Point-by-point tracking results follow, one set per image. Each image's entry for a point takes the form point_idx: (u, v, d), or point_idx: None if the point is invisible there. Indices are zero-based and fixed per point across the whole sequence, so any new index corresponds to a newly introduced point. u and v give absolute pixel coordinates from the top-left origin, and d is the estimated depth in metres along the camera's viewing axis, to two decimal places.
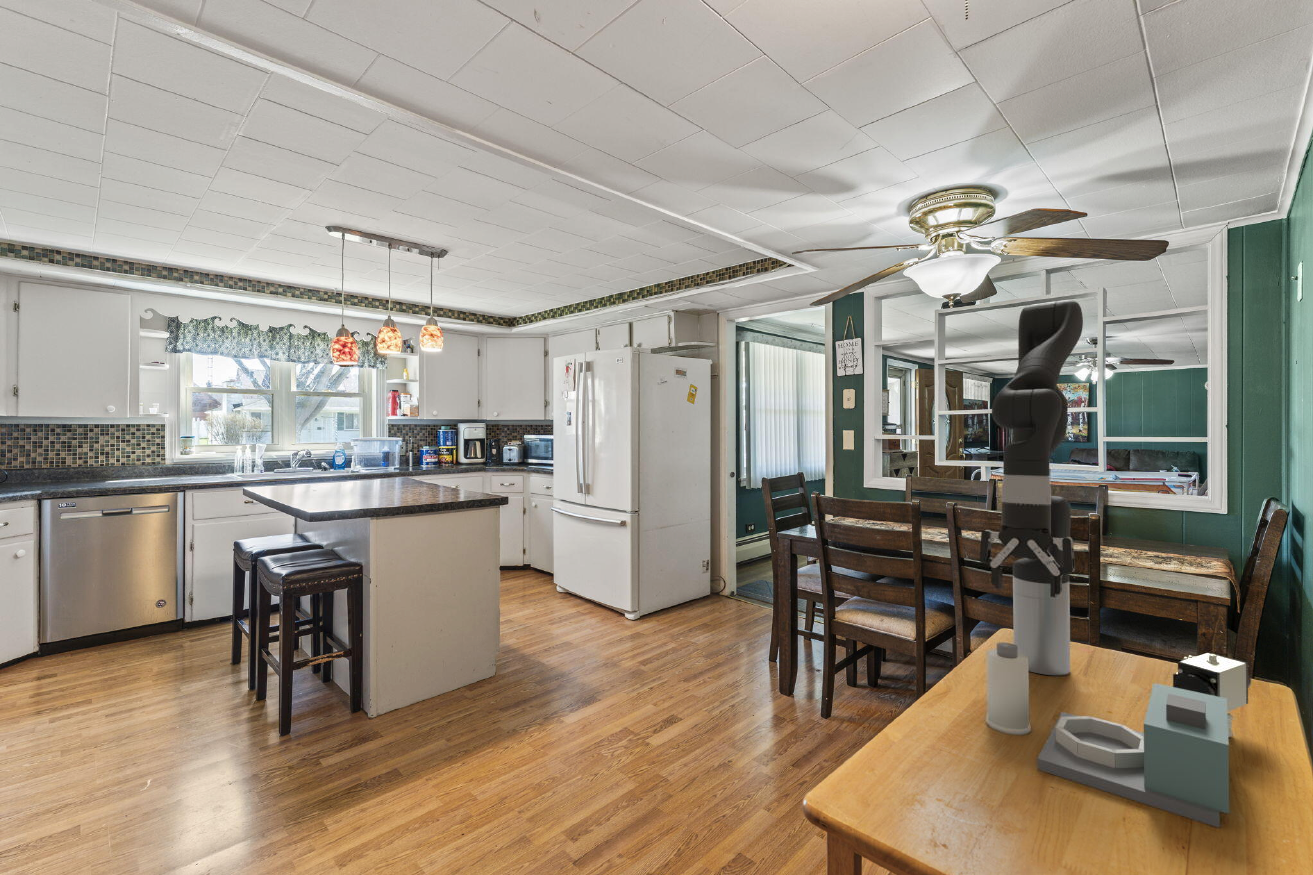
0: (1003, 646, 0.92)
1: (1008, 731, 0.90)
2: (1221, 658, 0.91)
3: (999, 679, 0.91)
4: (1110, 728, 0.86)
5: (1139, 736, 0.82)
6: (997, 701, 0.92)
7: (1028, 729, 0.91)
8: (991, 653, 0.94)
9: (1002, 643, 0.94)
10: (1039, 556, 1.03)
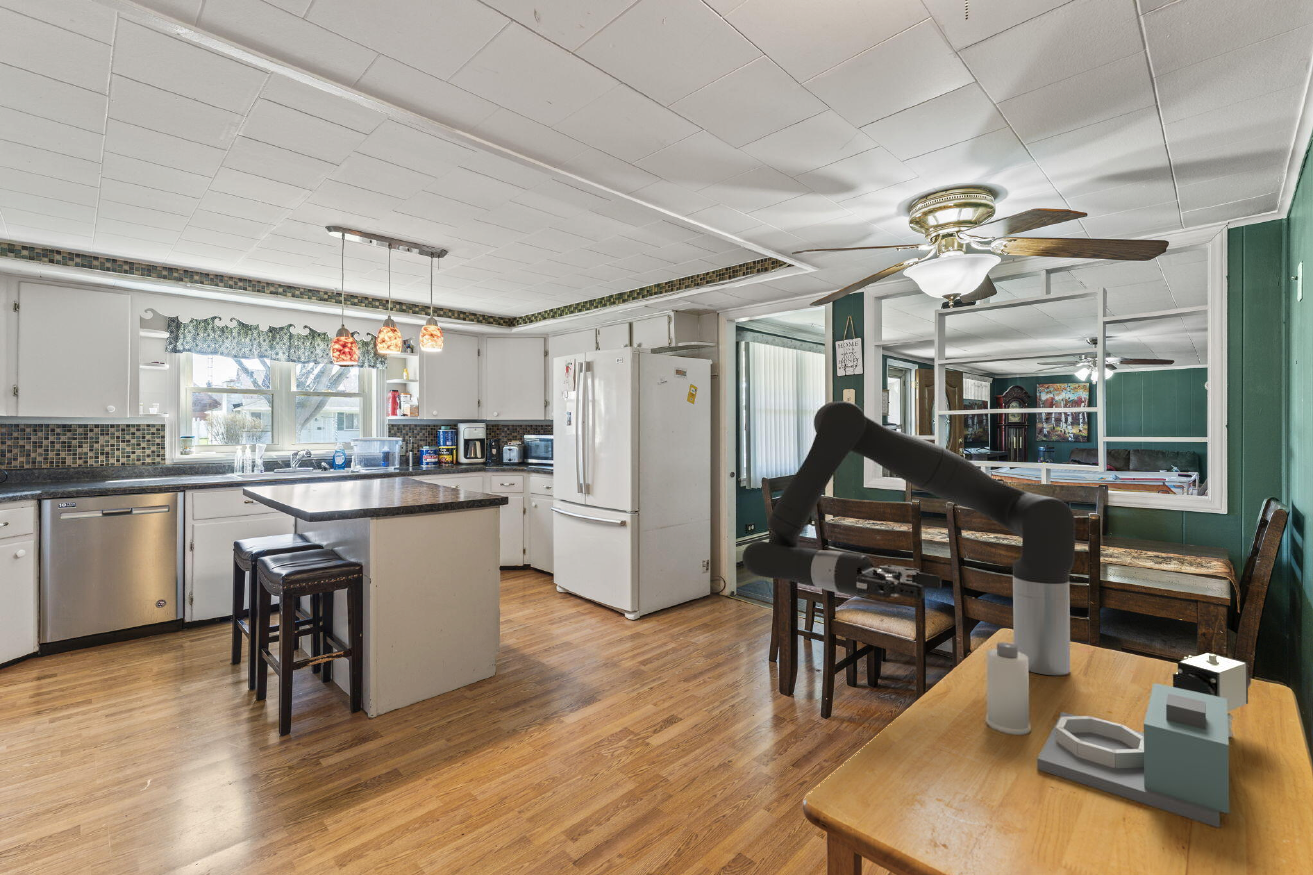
0: (1003, 646, 0.92)
1: (1008, 731, 0.90)
2: (1221, 658, 0.91)
3: (999, 679, 0.91)
4: (1110, 728, 0.86)
5: (1139, 736, 0.82)
6: (997, 701, 0.92)
7: (1028, 729, 0.91)
8: (992, 653, 0.94)
9: (1002, 643, 0.94)
10: None
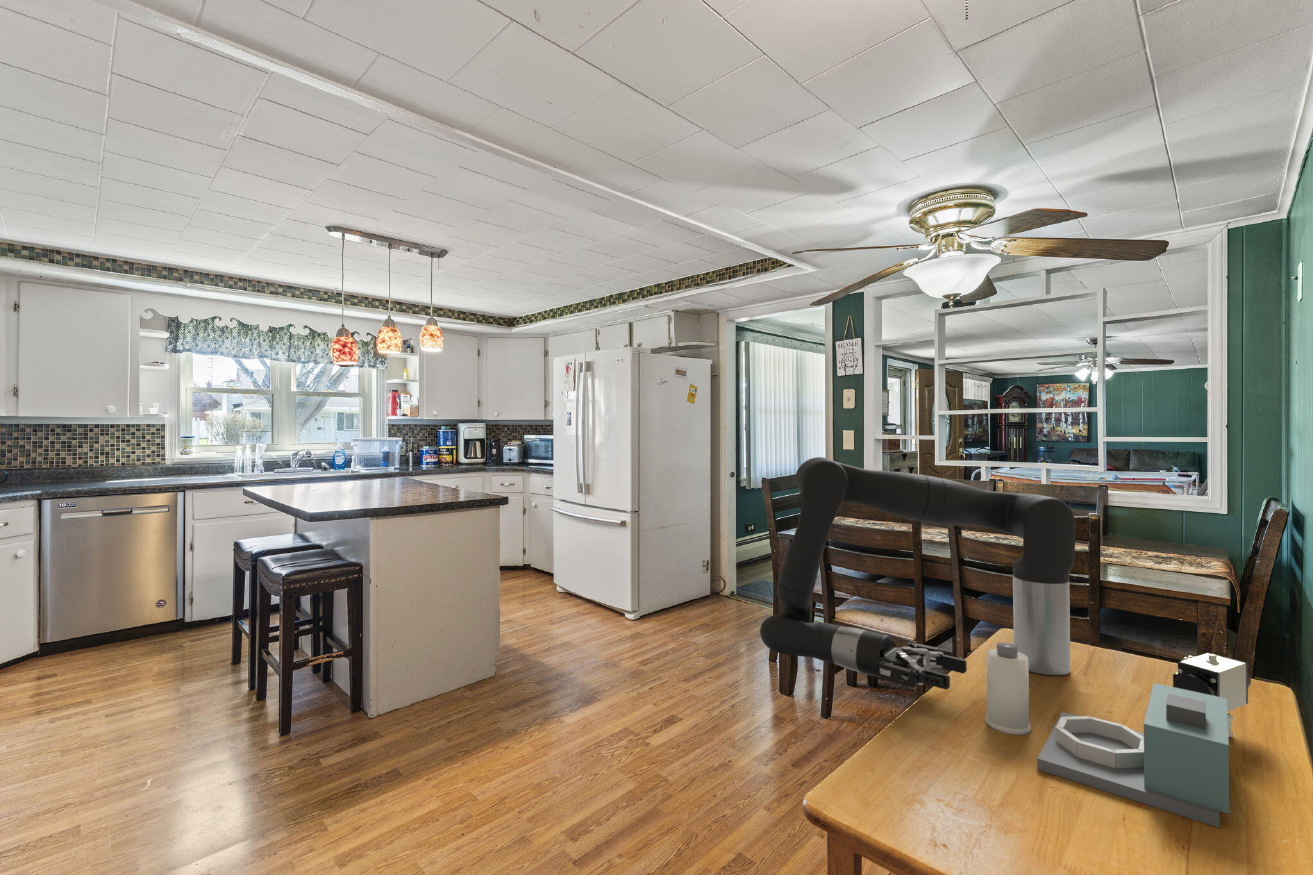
0: (1003, 646, 0.92)
1: (1008, 731, 0.90)
2: (1221, 658, 0.91)
3: (999, 679, 0.91)
4: (1110, 728, 0.86)
5: (1139, 736, 0.82)
6: (997, 701, 0.92)
7: (1028, 729, 0.91)
8: (992, 653, 0.94)
9: (1002, 643, 0.94)
10: None
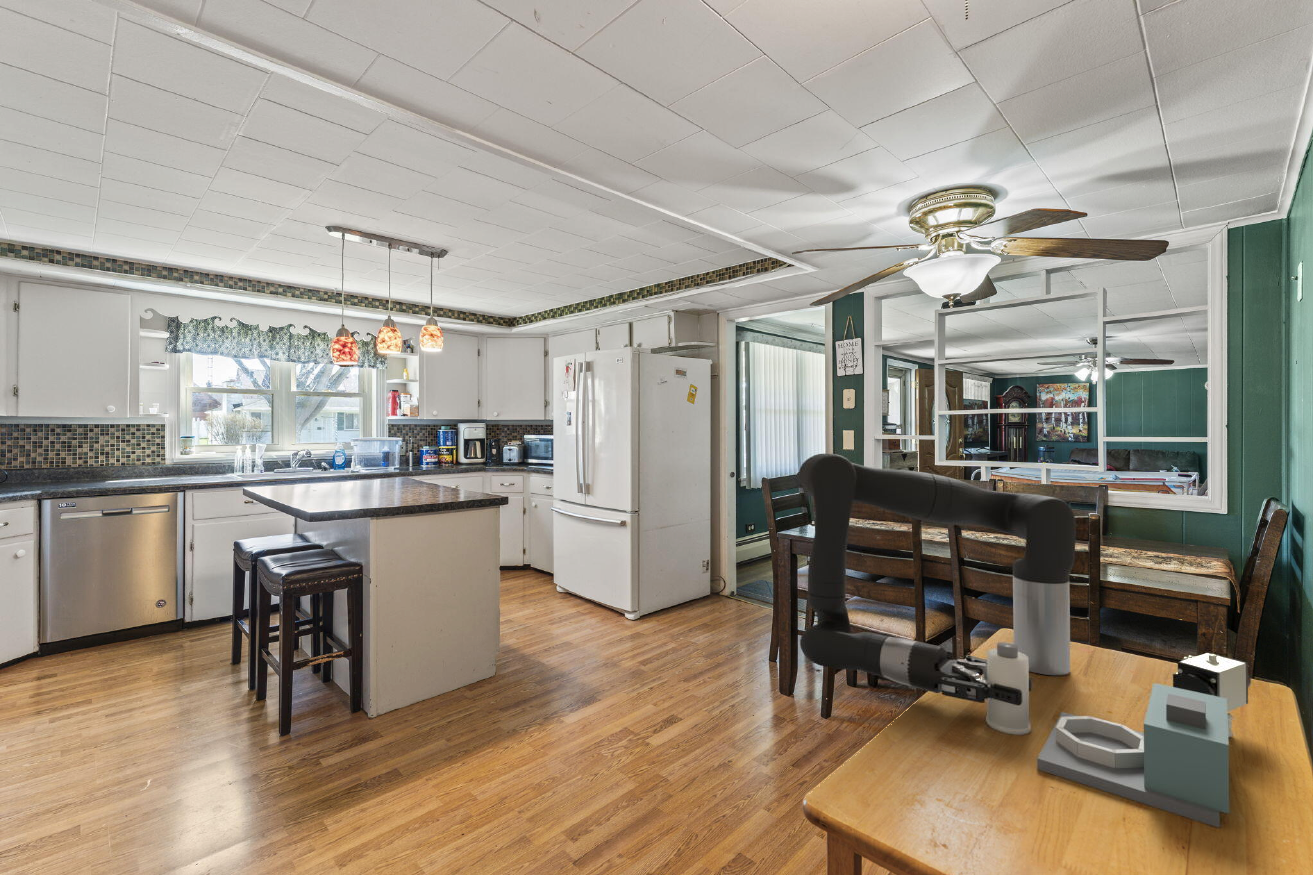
0: (1003, 646, 0.92)
1: (1008, 731, 0.90)
2: (1221, 658, 0.91)
3: (999, 679, 0.91)
4: (1110, 728, 0.86)
5: (1139, 736, 0.82)
6: (997, 701, 0.92)
7: (1028, 729, 0.91)
8: (992, 653, 0.94)
9: (1002, 643, 0.94)
10: None
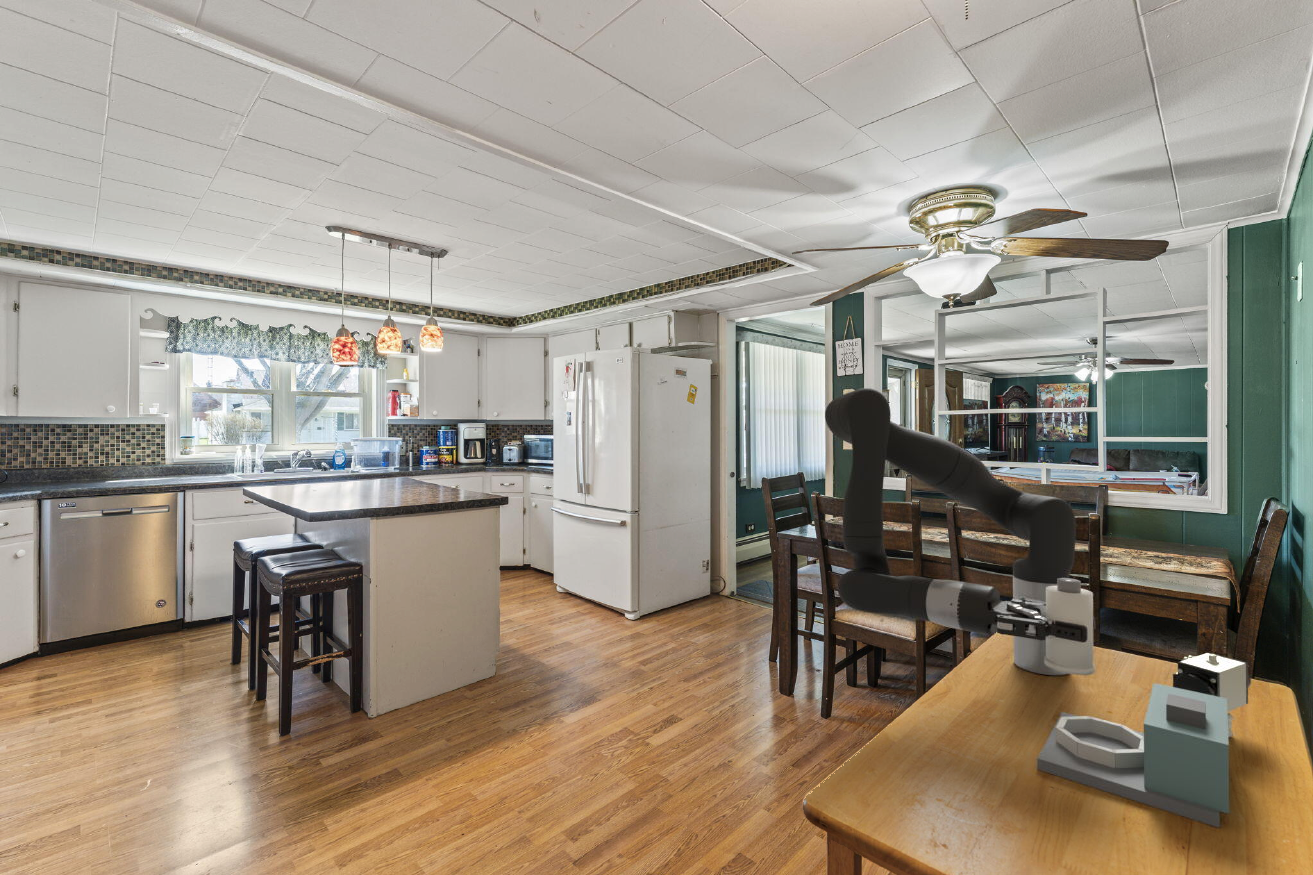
0: (1065, 581, 0.85)
1: (1071, 671, 0.83)
2: (1221, 658, 0.91)
3: (1060, 616, 0.84)
4: (1110, 728, 0.86)
5: (1139, 736, 0.82)
6: (1058, 640, 0.85)
7: (1093, 669, 0.84)
8: (1051, 589, 0.87)
9: (1063, 578, 0.87)
10: None
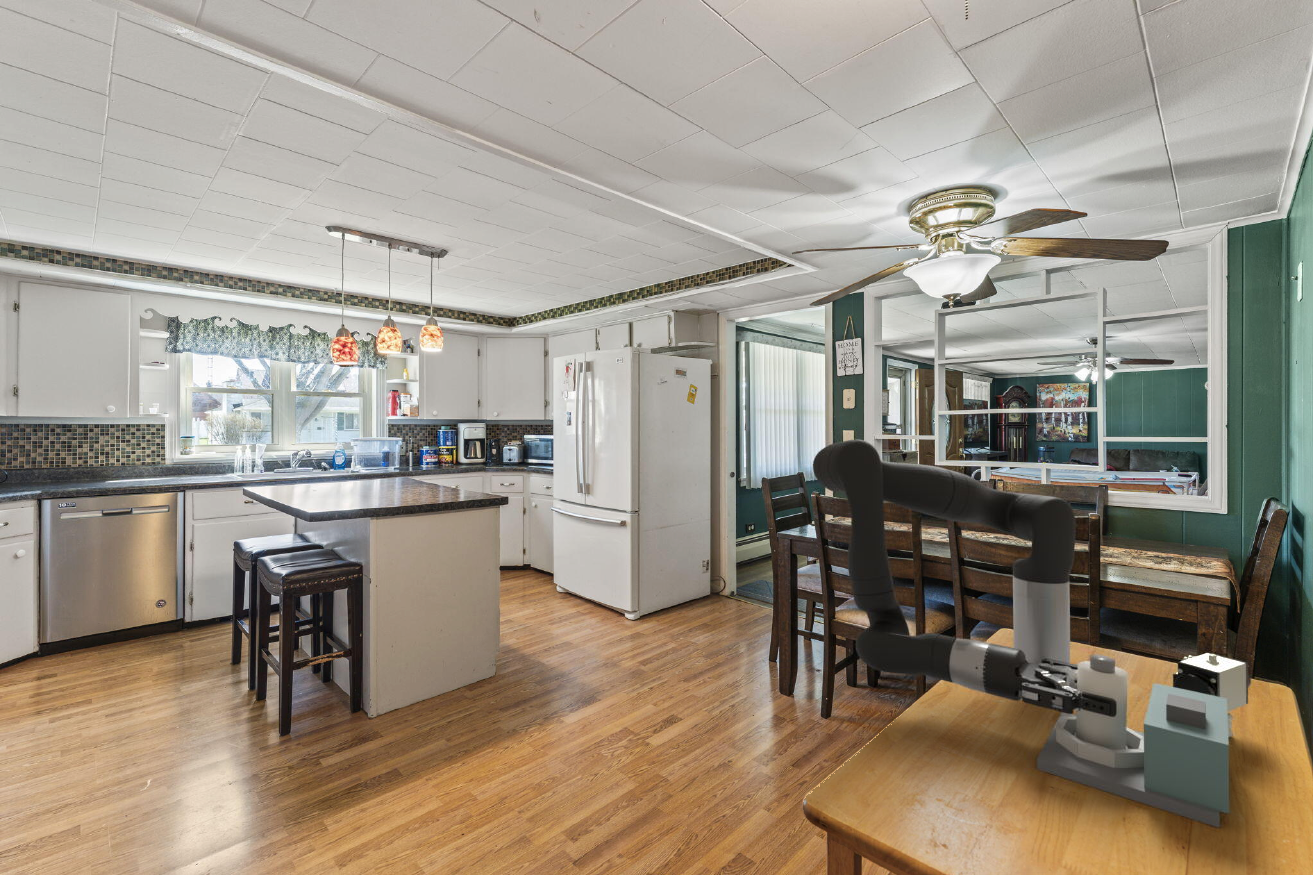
0: (1099, 660, 0.83)
1: None
2: (1221, 658, 0.91)
3: None
4: None
5: (1139, 736, 0.82)
6: (1090, 721, 0.82)
7: None
8: (1084, 667, 0.84)
9: (1096, 655, 0.84)
10: None
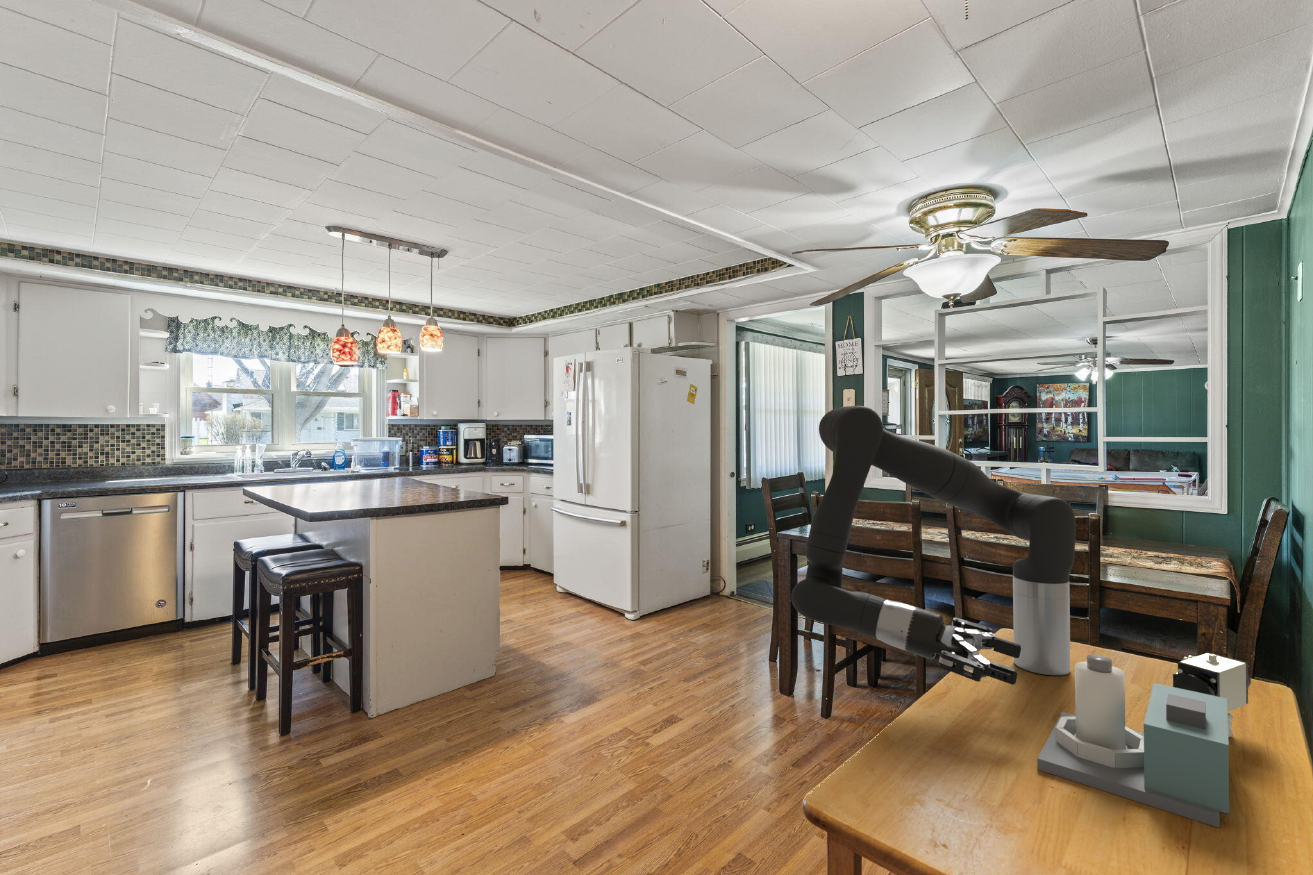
0: (1096, 659, 0.83)
1: None
2: (1221, 658, 0.91)
3: (1092, 696, 0.82)
4: None
5: (1139, 736, 0.82)
6: (1089, 721, 0.82)
7: None
8: (1081, 667, 0.84)
9: (1093, 656, 0.84)
10: None
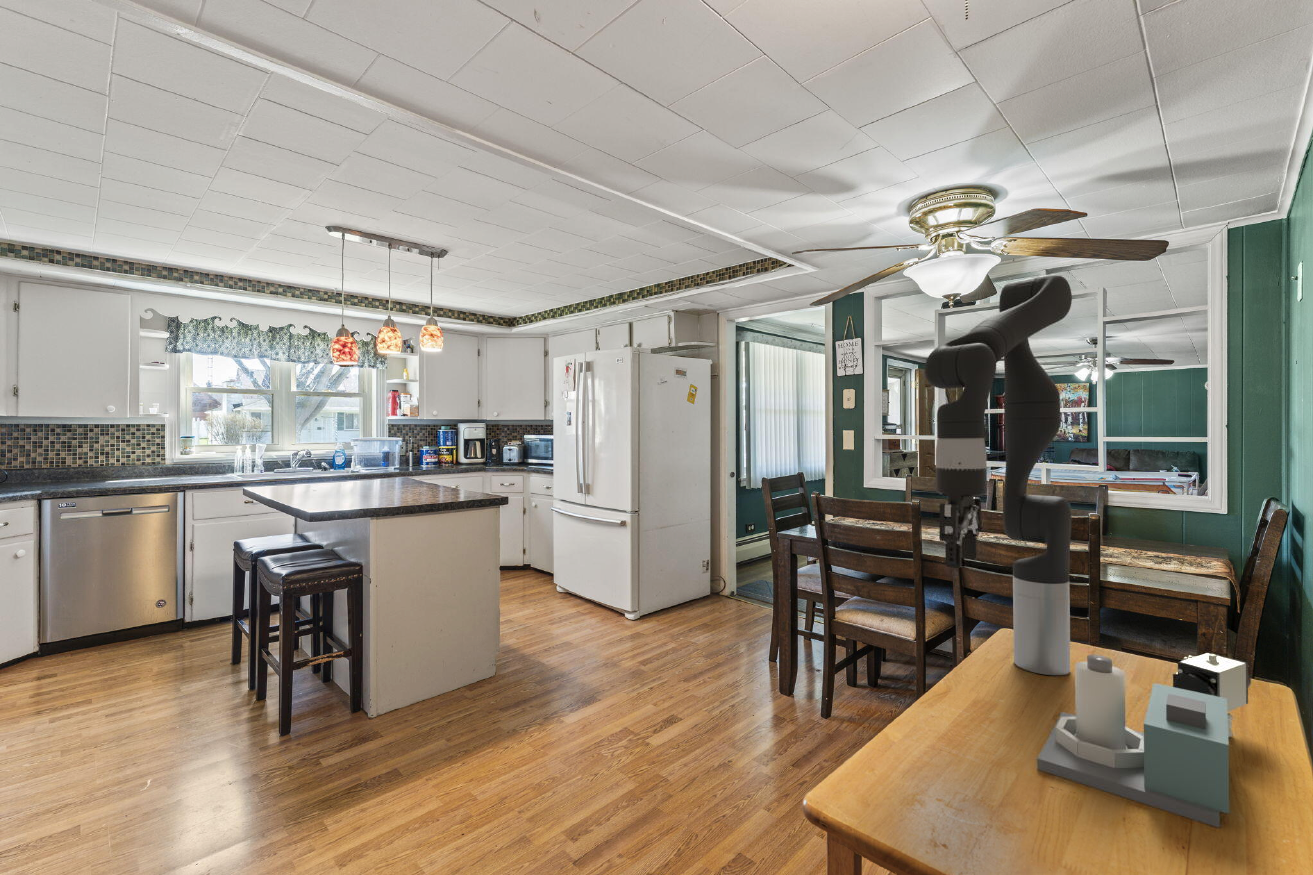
0: (1096, 659, 0.83)
1: None
2: (1221, 658, 0.91)
3: (1092, 697, 0.82)
4: None
5: (1139, 736, 0.82)
6: (1089, 721, 0.82)
7: None
8: (1081, 667, 0.84)
9: (1093, 656, 0.84)
10: None
